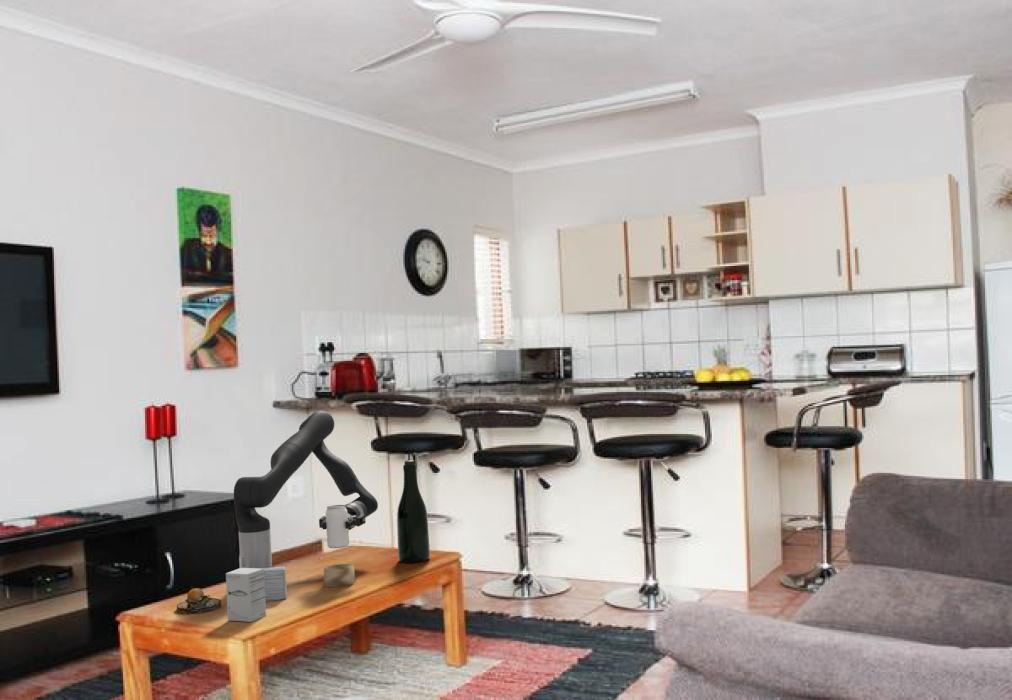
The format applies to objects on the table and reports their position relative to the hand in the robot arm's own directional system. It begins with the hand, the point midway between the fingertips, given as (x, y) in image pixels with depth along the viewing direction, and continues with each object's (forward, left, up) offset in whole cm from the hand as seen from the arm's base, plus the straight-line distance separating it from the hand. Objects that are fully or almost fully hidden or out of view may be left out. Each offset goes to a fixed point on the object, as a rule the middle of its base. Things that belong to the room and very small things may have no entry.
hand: (335, 525), depth 287 cm
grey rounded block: (+1, +1, -18) cm, 18 cm away
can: (+1, +2, -7) cm, 7 cm away
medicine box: (-20, -7, -18) cm, 28 cm away
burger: (-40, -6, -18) cm, 44 cm away
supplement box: (-29, -25, -18) cm, 42 cm away
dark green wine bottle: (+30, +21, -18) cm, 41 cm away
